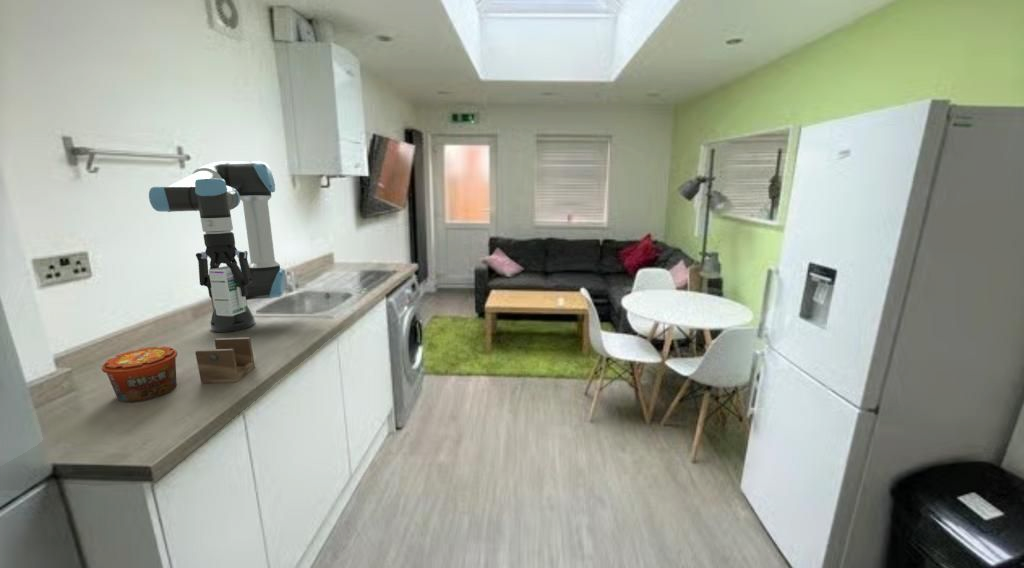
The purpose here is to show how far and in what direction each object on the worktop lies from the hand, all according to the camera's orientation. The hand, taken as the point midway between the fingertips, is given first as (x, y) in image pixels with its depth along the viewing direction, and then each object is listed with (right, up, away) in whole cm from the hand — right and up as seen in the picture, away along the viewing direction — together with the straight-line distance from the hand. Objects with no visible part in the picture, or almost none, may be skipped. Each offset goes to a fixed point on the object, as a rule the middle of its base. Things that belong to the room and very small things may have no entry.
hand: (230, 306), depth 132 cm
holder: (0, -21, -1) cm, 21 cm away
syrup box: (0, -2, +1) cm, 2 cm away
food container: (-16, -23, -11) cm, 30 cm away
